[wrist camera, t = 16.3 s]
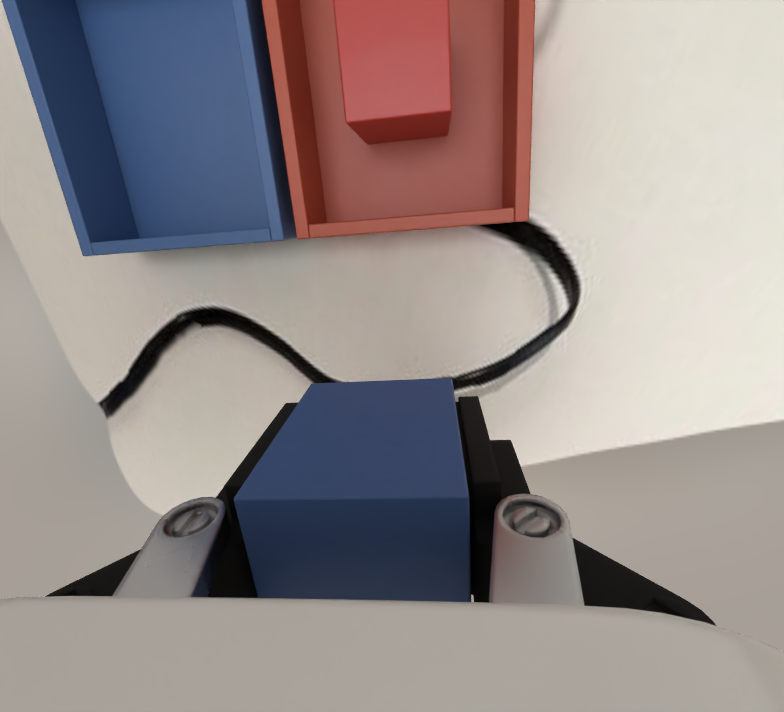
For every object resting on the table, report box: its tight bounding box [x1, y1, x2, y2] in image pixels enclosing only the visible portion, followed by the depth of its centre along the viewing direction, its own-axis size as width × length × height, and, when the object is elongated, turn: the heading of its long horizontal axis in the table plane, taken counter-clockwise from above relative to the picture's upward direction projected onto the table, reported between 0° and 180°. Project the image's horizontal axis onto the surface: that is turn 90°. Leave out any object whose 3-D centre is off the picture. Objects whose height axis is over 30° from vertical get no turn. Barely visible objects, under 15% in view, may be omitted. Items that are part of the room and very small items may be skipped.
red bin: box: [262, 0, 535, 239], centre depth 18 cm, size 10×12×4 cm
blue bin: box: [2, 0, 297, 256], centre depth 19 cm, size 10×12×4 cm
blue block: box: [234, 378, 471, 602], centre depth 10 cm, size 4×4×5 cm
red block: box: [333, 0, 452, 144], centre depth 17 cm, size 4×4×5 cm
